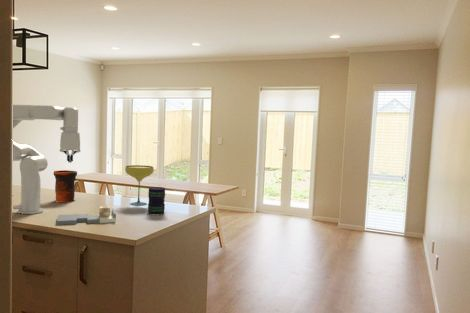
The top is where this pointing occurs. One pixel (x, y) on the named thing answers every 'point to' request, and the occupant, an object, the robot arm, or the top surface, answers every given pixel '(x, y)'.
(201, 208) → the top surface
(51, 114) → the robot arm
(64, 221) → the trap board
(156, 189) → the storage jar
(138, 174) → the cocktail glass
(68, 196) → the vessel
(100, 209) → the maple block
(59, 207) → the top surface
